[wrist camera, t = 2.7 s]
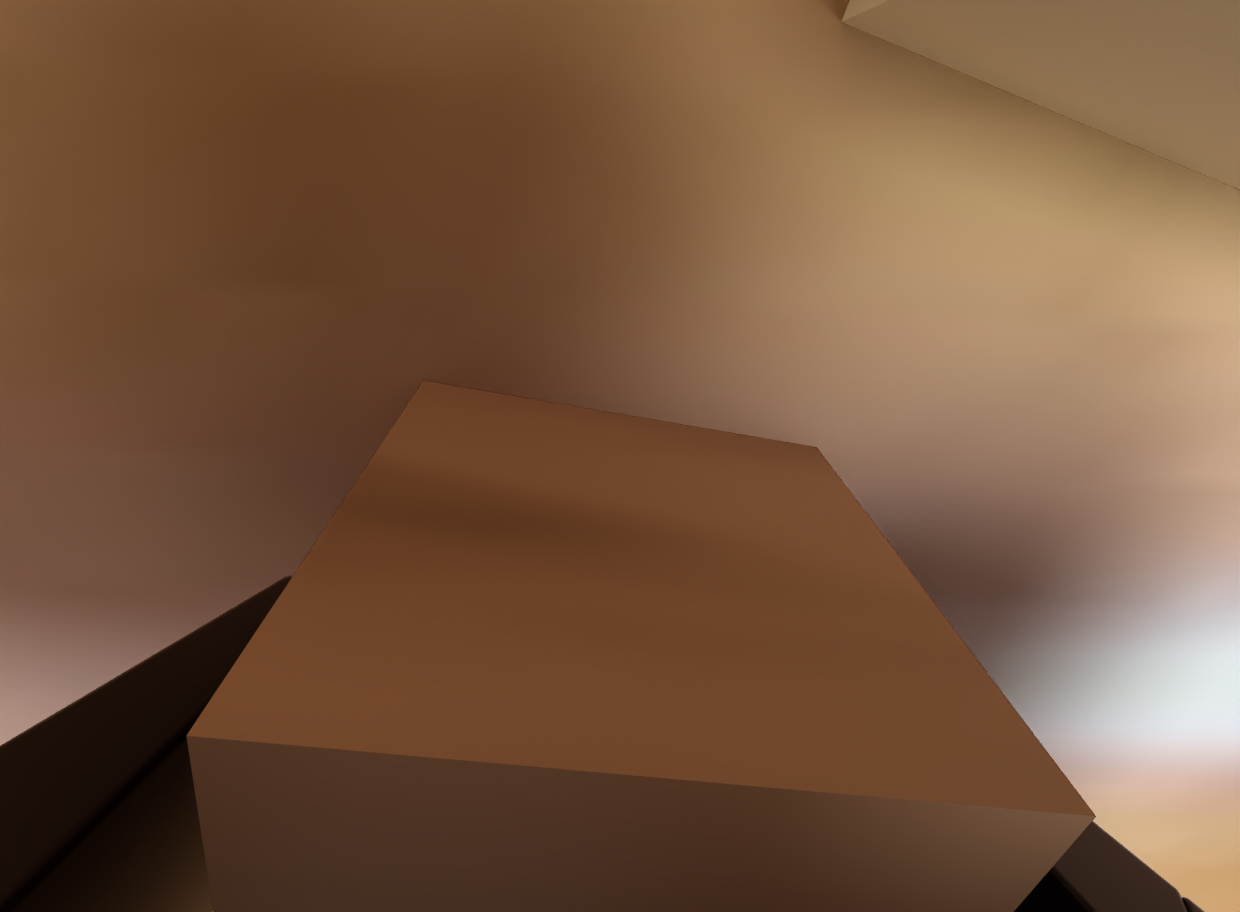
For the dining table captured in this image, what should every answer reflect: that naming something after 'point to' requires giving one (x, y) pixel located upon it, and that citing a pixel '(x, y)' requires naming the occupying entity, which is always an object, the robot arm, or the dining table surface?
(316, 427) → the dining table surface
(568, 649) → the walnut cube
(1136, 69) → the base block
